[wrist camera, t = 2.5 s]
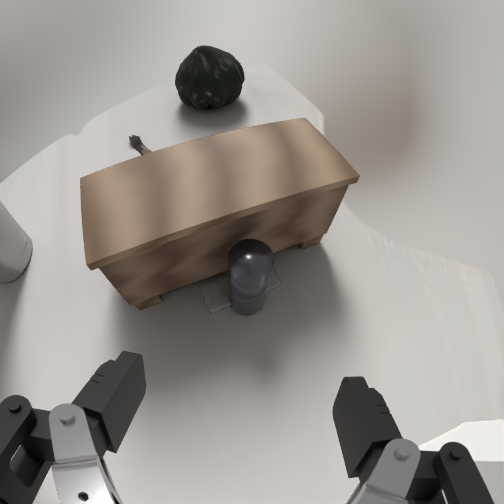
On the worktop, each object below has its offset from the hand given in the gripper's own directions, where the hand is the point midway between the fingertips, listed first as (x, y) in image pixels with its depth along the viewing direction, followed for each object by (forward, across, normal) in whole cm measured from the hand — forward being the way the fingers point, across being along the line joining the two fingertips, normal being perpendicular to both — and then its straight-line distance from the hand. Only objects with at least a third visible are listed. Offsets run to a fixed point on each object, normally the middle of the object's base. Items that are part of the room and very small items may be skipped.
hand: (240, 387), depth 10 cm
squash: (+54, +13, -25) cm, 61 cm away
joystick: (+25, +2, +4) cm, 25 cm away
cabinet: (+28, +4, +1) cm, 28 cm away
